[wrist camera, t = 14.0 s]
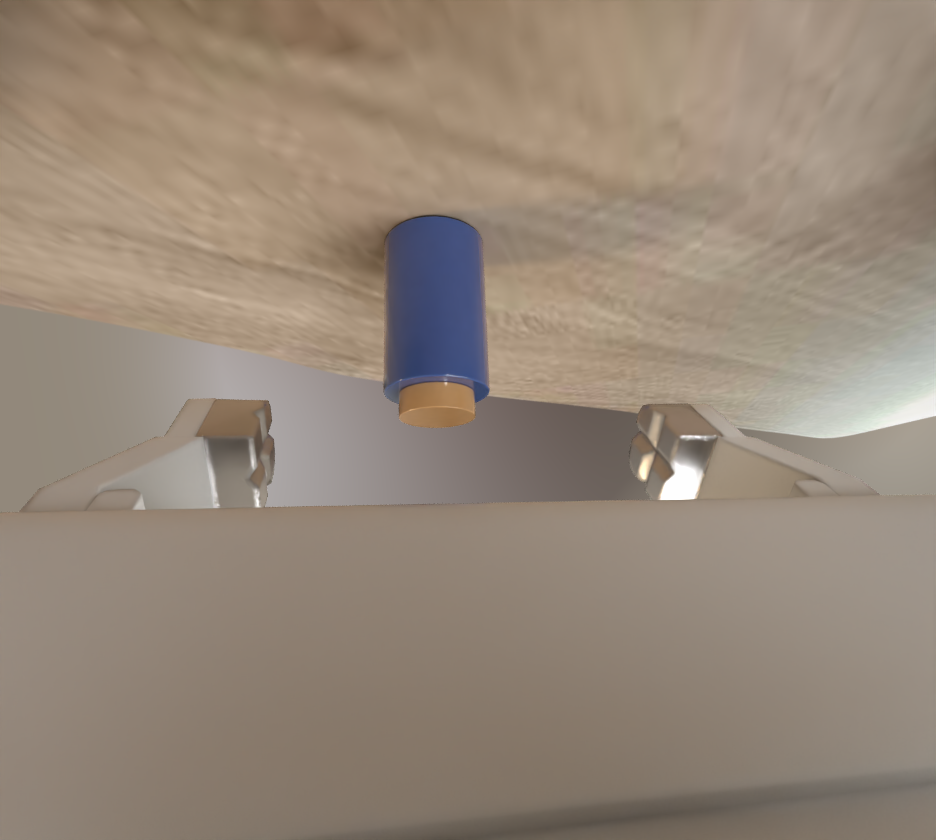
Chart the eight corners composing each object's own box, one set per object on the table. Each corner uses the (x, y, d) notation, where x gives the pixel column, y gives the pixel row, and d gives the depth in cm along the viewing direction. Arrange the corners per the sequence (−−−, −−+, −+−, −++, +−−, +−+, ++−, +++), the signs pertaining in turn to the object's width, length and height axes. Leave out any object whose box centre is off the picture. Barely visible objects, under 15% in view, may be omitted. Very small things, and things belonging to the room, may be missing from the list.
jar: (363, 241, 24) (360, 417, 22) (441, 201, 22) (446, 394, 19) (428, 280, 27) (430, 436, 25) (501, 249, 25) (511, 418, 23)
